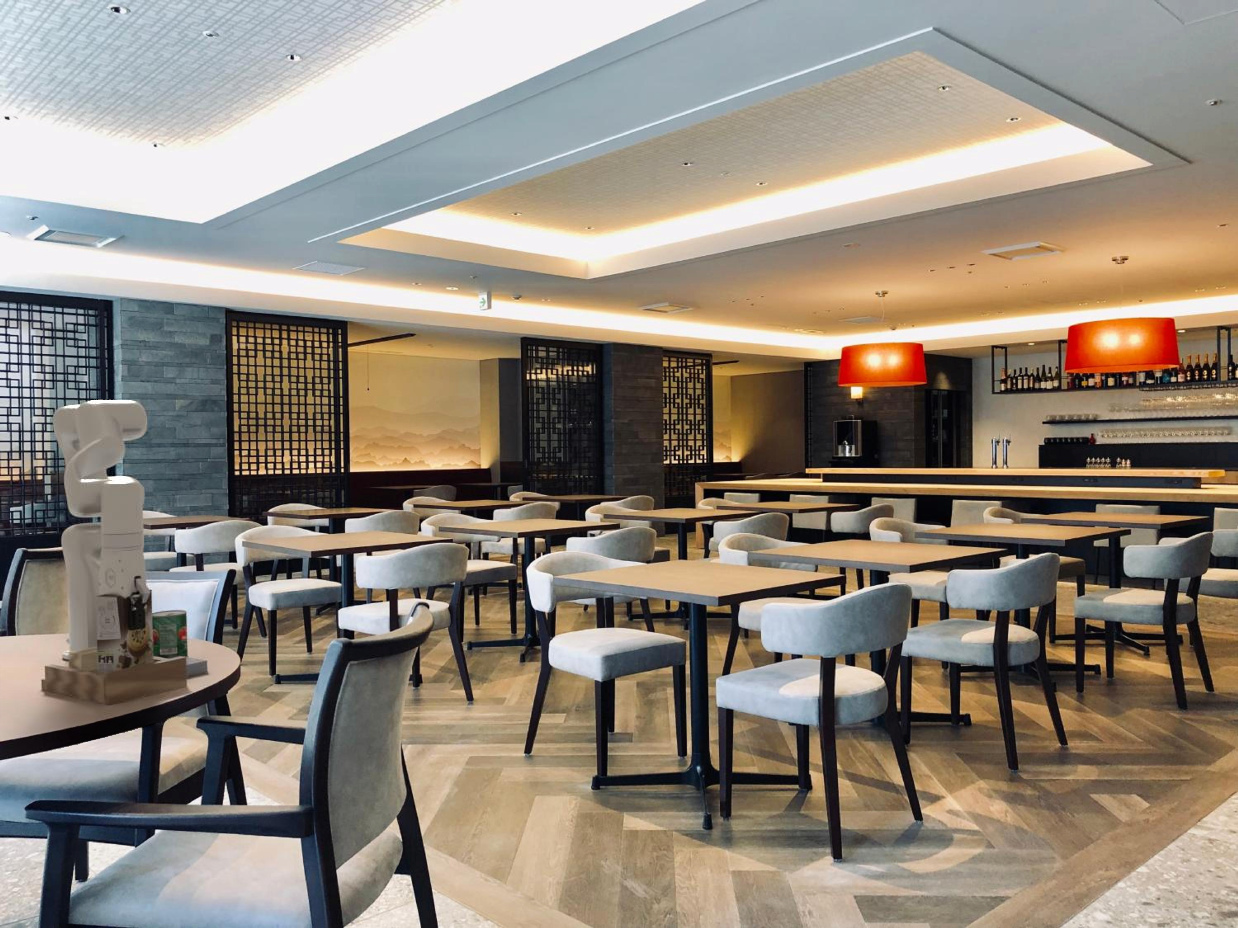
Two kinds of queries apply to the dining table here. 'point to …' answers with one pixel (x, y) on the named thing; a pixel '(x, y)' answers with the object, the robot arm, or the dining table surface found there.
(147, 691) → the tray
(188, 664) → the trivet
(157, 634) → the canned tomato
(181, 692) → the dining table surface
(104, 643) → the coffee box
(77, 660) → the offcut top
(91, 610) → the robot arm
